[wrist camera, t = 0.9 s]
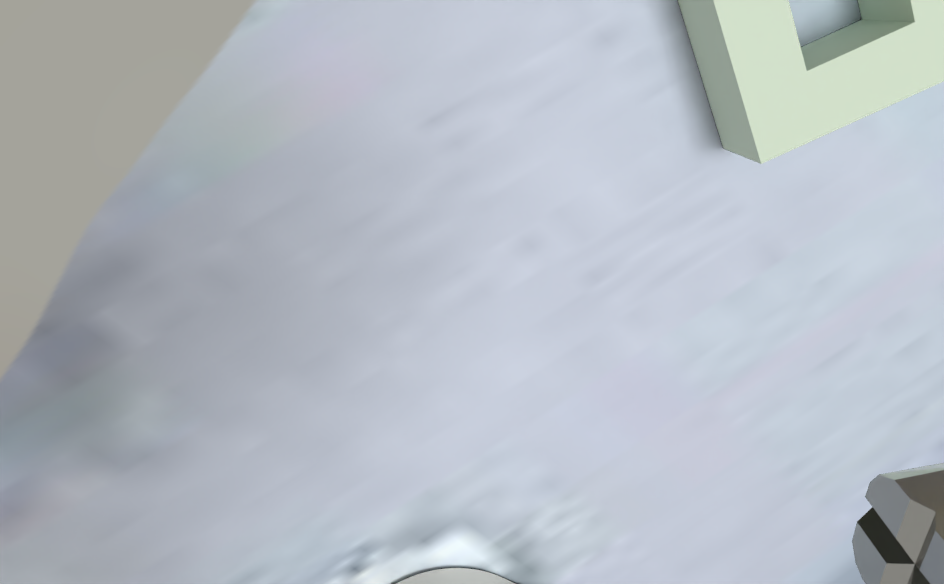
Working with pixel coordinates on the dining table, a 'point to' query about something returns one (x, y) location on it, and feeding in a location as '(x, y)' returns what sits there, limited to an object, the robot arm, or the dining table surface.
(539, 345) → the dining table surface
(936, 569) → the robot arm
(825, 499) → the dining table surface
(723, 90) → the hole block
